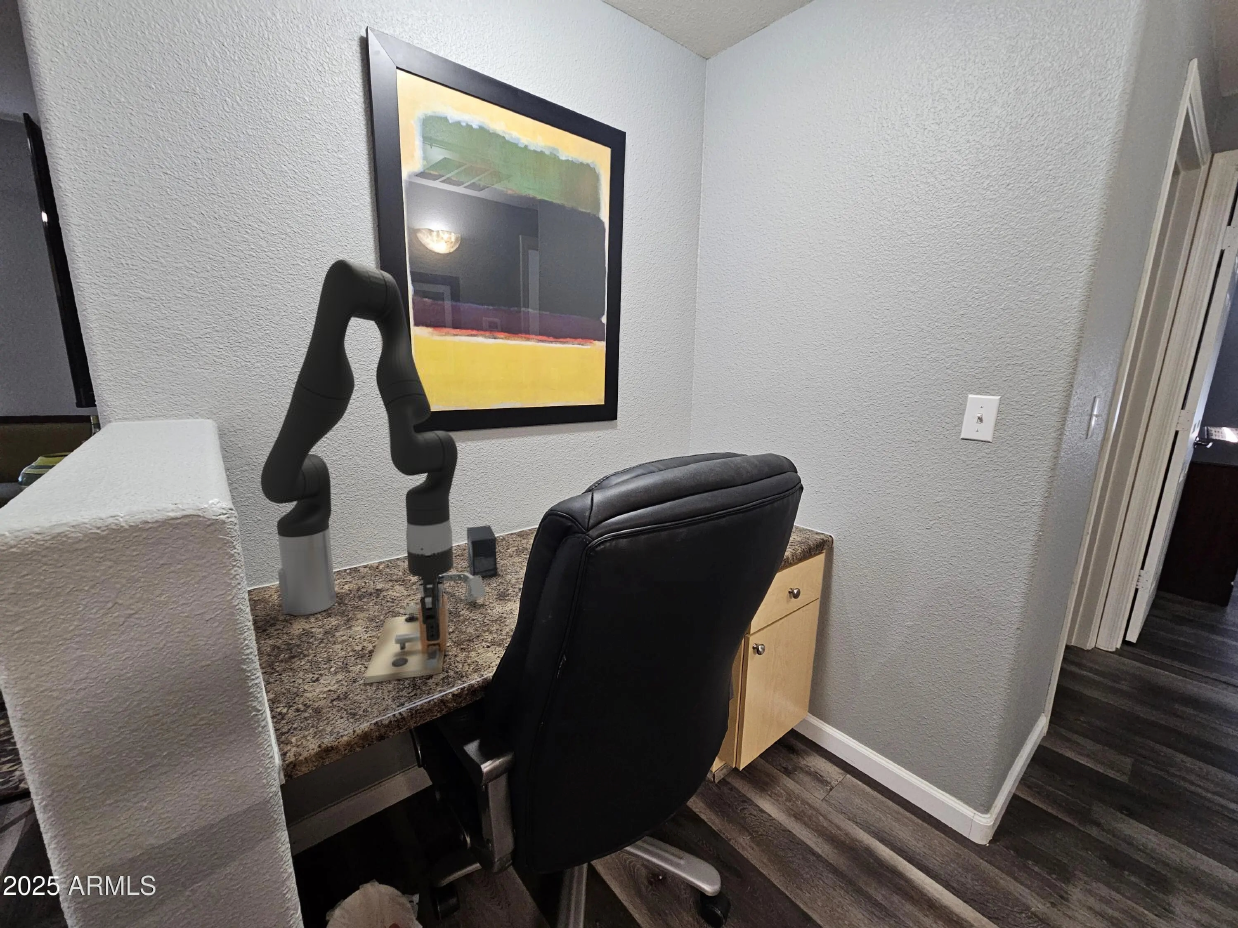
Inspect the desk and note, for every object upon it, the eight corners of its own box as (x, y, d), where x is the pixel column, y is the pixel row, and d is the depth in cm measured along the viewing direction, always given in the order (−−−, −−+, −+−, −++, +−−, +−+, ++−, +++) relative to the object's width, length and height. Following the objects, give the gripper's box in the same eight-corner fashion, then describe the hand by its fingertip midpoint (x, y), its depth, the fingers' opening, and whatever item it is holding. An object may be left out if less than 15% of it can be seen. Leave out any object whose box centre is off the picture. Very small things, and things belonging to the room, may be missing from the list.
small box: (467, 564, 131) (465, 526, 129) (491, 560, 133) (490, 524, 131) (471, 579, 121) (470, 539, 119) (498, 575, 124) (497, 536, 122)
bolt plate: (364, 683, 81) (364, 676, 80) (386, 623, 100) (386, 617, 99) (441, 672, 84) (441, 666, 84) (448, 616, 103) (448, 611, 103)
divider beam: (391, 673, 82) (390, 657, 81) (407, 615, 100) (407, 602, 100) (441, 666, 84) (440, 650, 83) (448, 611, 103) (447, 598, 102)
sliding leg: (394, 656, 86) (391, 611, 84) (398, 644, 90) (395, 600, 88) (447, 649, 88) (445, 605, 87) (448, 638, 92) (446, 595, 90)
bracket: (475, 600, 106) (461, 557, 107) (427, 614, 119) (415, 574, 120) (487, 595, 109) (473, 553, 110) (439, 609, 121) (427, 570, 122)
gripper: (412, 532, 91) (417, 616, 95) (400, 561, 78) (406, 658, 81) (454, 530, 94) (457, 612, 97) (450, 557, 80) (454, 652, 83)
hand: (434, 632), depth 89 cm, fingers closed on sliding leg, 4 cm apart
